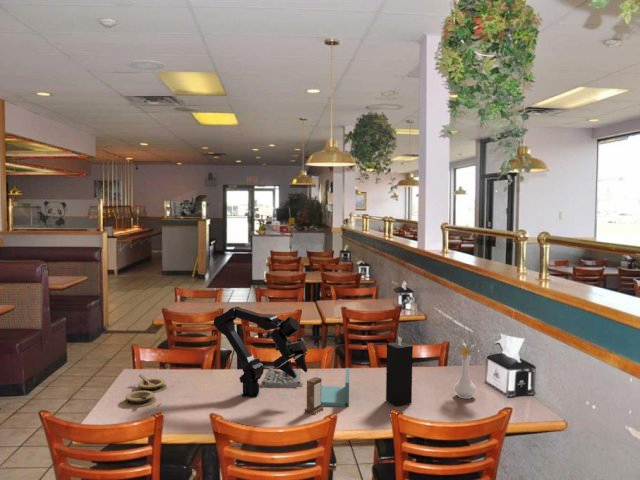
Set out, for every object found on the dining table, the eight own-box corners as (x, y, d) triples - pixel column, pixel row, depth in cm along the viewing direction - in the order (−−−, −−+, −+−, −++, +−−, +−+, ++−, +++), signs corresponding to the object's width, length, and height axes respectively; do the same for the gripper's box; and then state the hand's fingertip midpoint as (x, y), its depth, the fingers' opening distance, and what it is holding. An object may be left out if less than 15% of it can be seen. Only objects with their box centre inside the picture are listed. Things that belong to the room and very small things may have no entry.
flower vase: (469, 388, 250) (470, 334, 248) (486, 403, 231) (488, 344, 230) (441, 389, 248) (443, 334, 246) (457, 404, 230) (458, 345, 228)
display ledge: (310, 405, 227) (310, 381, 227) (313, 388, 247) (313, 367, 247) (348, 406, 226) (349, 382, 226) (349, 389, 246) (349, 368, 246)
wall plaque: (302, 389, 249) (302, 380, 248) (260, 388, 249) (260, 380, 249) (305, 372, 272) (305, 365, 272) (266, 372, 273) (266, 364, 272)
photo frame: (304, 412, 220) (304, 380, 219) (312, 407, 225) (313, 376, 224) (314, 414, 217) (315, 382, 216) (323, 410, 222) (323, 378, 221)
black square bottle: (396, 407, 226) (397, 340, 224) (385, 400, 233) (386, 336, 231) (411, 403, 230) (413, 338, 228) (400, 397, 237) (401, 334, 235)
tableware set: (158, 409, 224) (158, 395, 223) (110, 409, 223) (110, 395, 223) (176, 385, 253) (176, 372, 253) (134, 385, 253) (133, 372, 253)
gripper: (283, 337, 219) (303, 371, 215) (306, 328, 235) (325, 360, 231) (264, 350, 223) (283, 384, 220) (288, 340, 240) (307, 372, 236)
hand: (301, 374), depth 226 cm, fingers open, 9 cm apart
